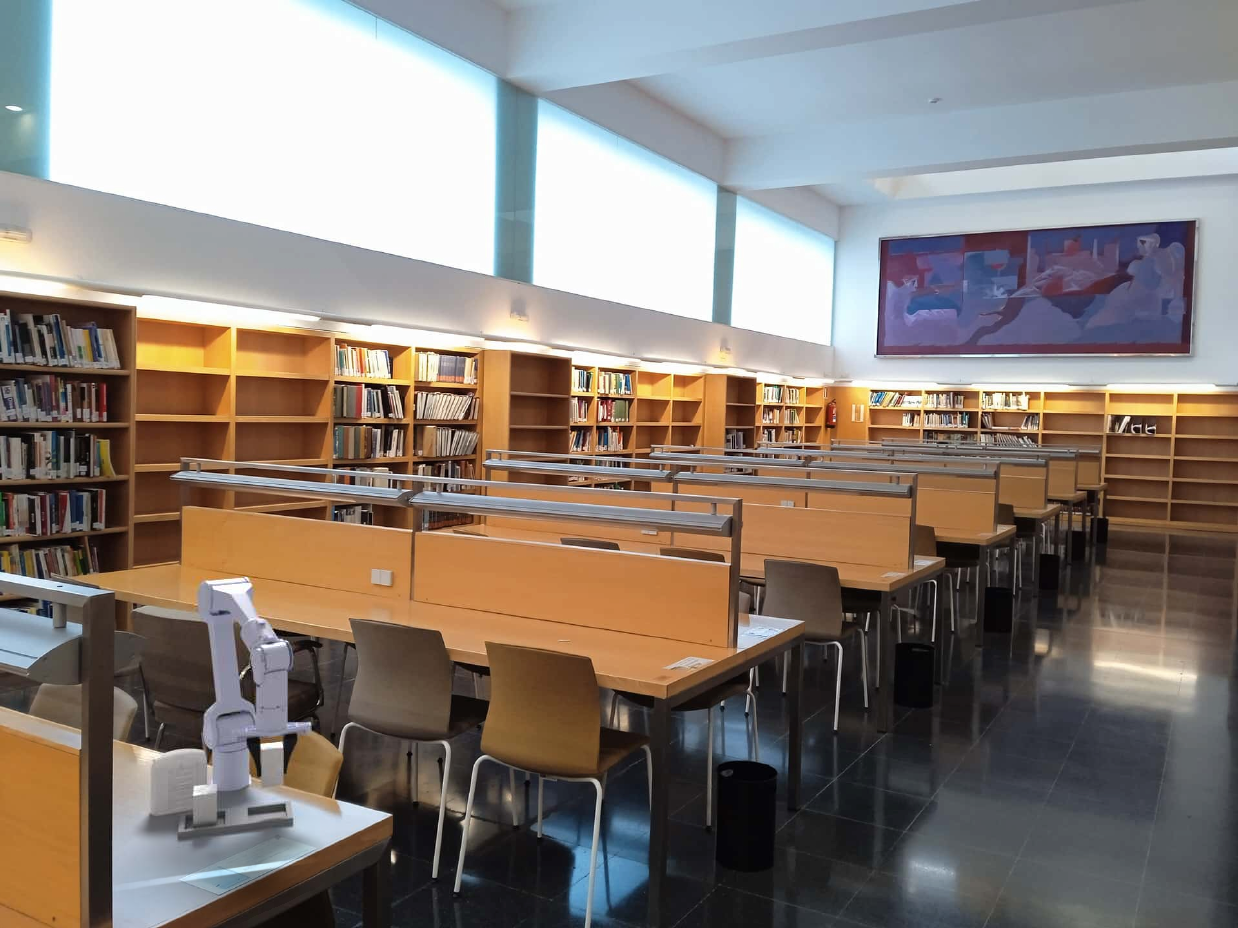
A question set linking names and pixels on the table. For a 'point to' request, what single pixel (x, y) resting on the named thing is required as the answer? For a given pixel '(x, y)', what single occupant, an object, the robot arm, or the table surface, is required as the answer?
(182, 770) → the white tombstone slab
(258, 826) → the pallet
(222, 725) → the robot arm
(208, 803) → the block
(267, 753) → the block
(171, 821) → the table surface
